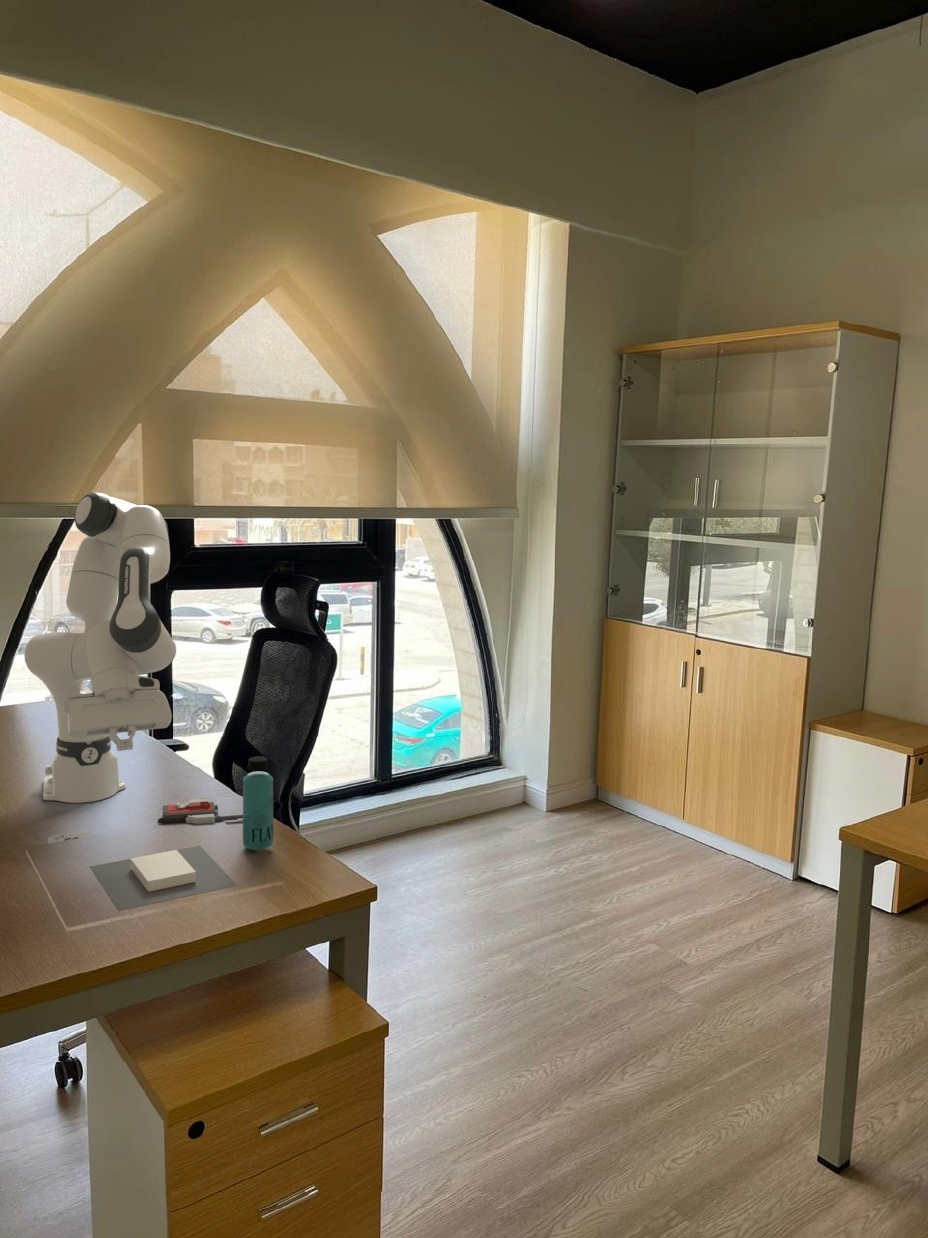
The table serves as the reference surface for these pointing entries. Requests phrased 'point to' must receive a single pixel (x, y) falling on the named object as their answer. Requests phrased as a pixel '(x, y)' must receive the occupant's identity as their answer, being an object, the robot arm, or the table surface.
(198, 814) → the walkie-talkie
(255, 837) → the beverage bottle
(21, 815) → the table surface
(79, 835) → the handheld gaming device
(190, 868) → the block
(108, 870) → the mat
